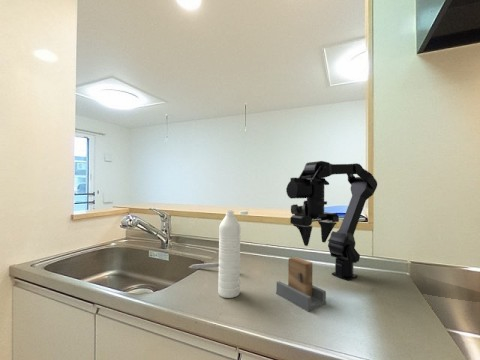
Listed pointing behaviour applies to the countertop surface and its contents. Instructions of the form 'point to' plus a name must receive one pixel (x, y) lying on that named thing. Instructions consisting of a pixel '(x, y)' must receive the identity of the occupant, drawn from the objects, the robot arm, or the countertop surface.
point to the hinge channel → (302, 296)
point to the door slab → (300, 275)
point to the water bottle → (229, 256)
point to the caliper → (204, 265)
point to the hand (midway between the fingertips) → (315, 244)
